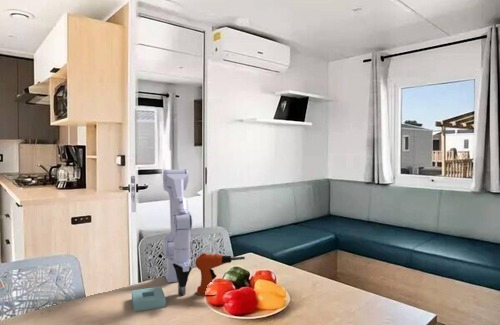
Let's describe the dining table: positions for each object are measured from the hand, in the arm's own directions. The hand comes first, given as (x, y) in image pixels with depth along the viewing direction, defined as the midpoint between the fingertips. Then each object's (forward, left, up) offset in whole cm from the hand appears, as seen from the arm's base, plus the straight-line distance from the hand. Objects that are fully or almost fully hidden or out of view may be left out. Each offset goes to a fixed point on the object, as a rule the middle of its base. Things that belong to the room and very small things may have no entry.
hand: (181, 284), depth 127 cm
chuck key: (0, 0, -3) cm, 3 cm away
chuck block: (+3, -12, -3) cm, 13 cm away
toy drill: (+4, +13, -4) cm, 14 cm away
